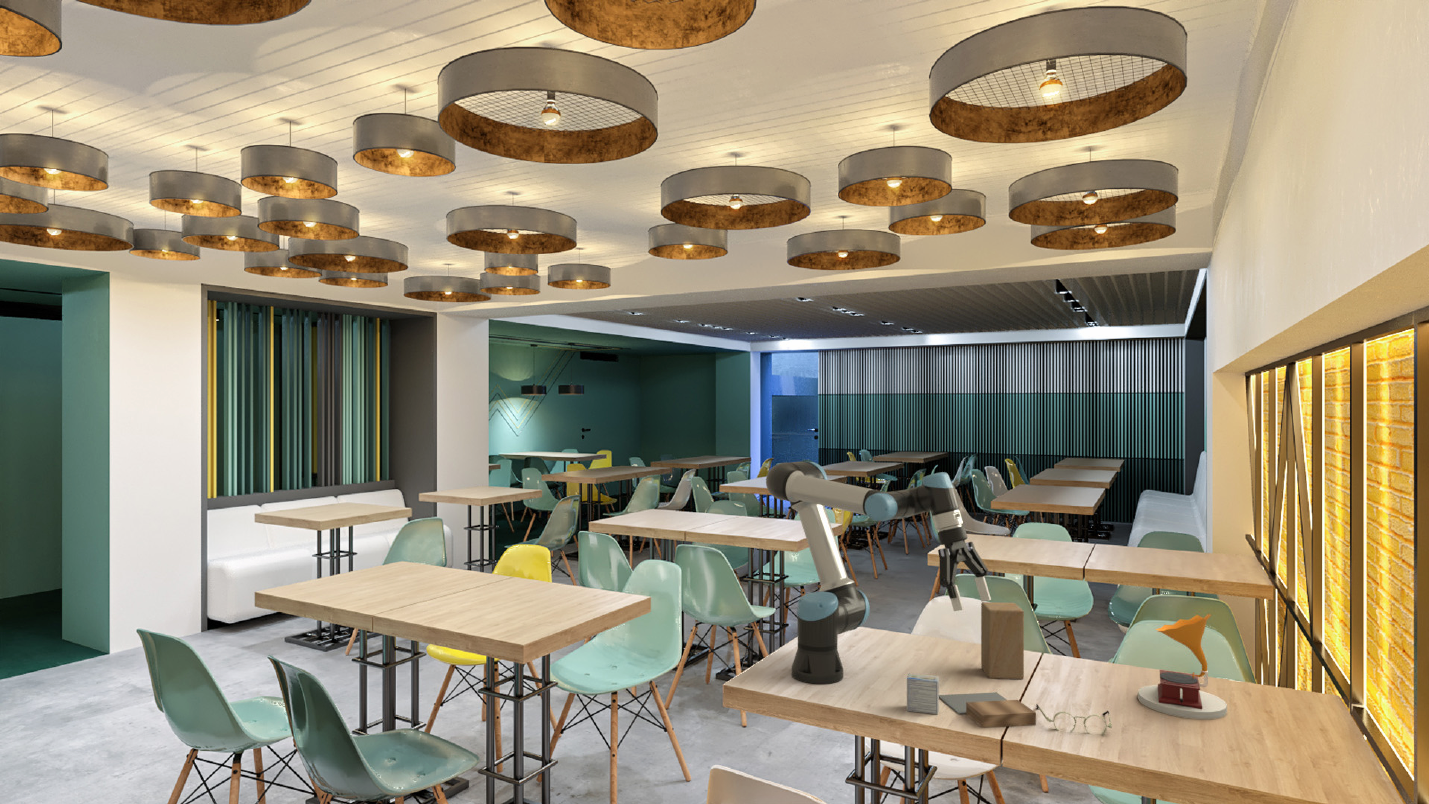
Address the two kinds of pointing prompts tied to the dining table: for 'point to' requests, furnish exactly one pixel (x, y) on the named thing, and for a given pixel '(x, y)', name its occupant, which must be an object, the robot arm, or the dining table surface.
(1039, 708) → the round eyeglasses
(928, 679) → the medicine box
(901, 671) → the dining table surface
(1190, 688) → the gramophone
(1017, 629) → the wooden block
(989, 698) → the mat
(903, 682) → the dining table surface
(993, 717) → the brown wooden flat block
